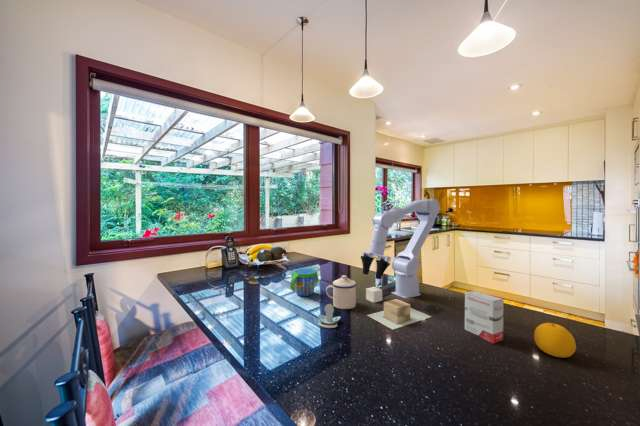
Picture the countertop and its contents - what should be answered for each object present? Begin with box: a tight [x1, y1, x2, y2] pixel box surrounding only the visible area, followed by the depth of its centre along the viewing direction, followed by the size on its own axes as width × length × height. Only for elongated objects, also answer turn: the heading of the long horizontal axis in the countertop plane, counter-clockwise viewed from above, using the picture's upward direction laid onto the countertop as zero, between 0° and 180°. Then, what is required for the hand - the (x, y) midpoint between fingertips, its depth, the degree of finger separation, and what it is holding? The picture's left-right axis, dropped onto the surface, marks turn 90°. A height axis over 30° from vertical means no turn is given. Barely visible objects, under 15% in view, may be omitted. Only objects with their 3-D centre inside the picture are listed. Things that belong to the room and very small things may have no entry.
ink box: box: [464, 290, 504, 344], centre depth 74 cm, size 8×5×12 cm, turn 26°
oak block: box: [383, 298, 411, 324], centre depth 85 cm, size 6×6×5 cm
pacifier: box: [317, 303, 342, 329], centre depth 82 cm, size 7×6×6 cm
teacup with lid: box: [325, 275, 357, 310], centre depth 98 cm, size 12×9×12 cm
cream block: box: [365, 286, 383, 303], centre depth 102 cm, size 4×4×5 cm
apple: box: [533, 322, 577, 359], centre depth 65 cm, size 8×8×8 cm
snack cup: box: [289, 267, 319, 297], centre depth 112 cm, size 16×10×10 cm
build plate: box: [366, 307, 432, 330], centre depth 87 cm, size 18×12×1 cm, turn 119°
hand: (371, 276), depth 101 cm, fingers open, 7 cm apart
